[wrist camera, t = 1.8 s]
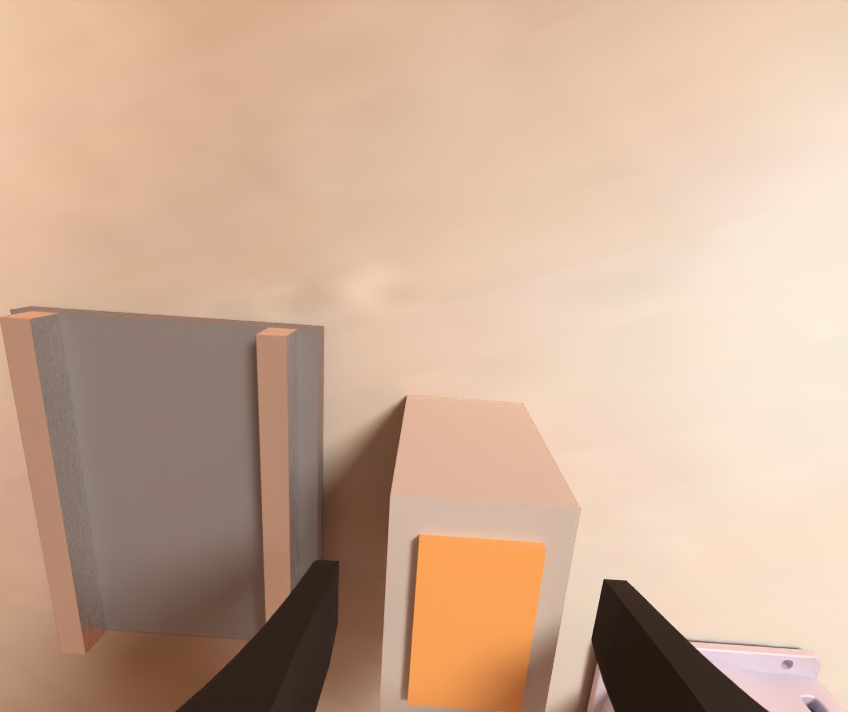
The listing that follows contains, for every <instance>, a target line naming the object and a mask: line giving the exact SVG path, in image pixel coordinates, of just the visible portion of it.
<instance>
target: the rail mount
mask: <svg viewBox="0 0 848 712" xmlns="http://www.w3.org/2000/svg"><path fill="white" fill-rule="evenodd" d="M10 311H11V315H7V316H2V317H0V323H1V329H2V334H3V340H4V345H5V350H6V356H7V361H8V367H9V372H10V377H11V383H12V388H13V394H14V399H15V405H16V410H17V415H18V421H19V426H20V432H21V437H22V442H23V448H24V453H25V459H26V464H27V470H28V475H29V480H30V486H31V491H32V497H33V502H34V508H35V513H36V518H37V524H38V529H39V535H40V540H41V545H42V551H43V556H44V562H45V567H46V573H47V578H48V583H49V589H50V594H51V600H52V605H53V610H54V616H55V621H56V627H57V632H58V638H59V643H60V648H61V653H68V654H82V655H86V654H87V652H88V651H89V650H90V649H91V648H92V646H93V645H94V644H95V643H96V642H97V640H98V639H99V638H100V637H101V636H102V634H103V633H104V632H105V631H106V630H116V631H130V632H144V633H159V634H173V635H187V636H201V637H215V638H229V639H244V640H251V639H252V638H253V637H254V636H255V635H256V633H257V632H258V631H259V630H260V629H261V628H262V627H263V626H264V625H265V623H266V622H267V621H268V620H269V619H270V618H271V616H272V615H273V614H274V613H275V612H276V610H277V609H278V608H279V607H280V605H281V604H282V603H283V602H284V601H285V599H286V598H287V597H288V596H289V594H290V593H291V592H292V590H293V589H294V588H295V587H296V585H297V584H298V583H299V581H300V580H301V578H302V577H303V576H304V574H305V573H306V571H307V570H308V569H309V567H310V566H311V564H312V563H313V562H314V561H316V560H322V521H323V369H324V326H311V325H296V324H282V323H267V322H252V321H237V320H223V319H208V318H193V317H179V316H164V315H149V314H134V313H120V312H105V311H90V310H75V309H61V308H46V307H31V306H30V307H24V308H18V309H12V310H10Z"/></svg>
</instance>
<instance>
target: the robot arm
mask: <svg viewBox="0 0 848 712" xmlns="http://www.w3.org/2000/svg"><path fill="white" fill-rule="evenodd" d="M338 573H339V561H326V560H316V561H314V562H313V563H312V564H311V566H310V567H309V569H308V570H307V571H306V573H305V574H304V576H303V577H302V578H301V580H300V581H299V583H298V584H297V585H296V587H295V588H294V589H293V590H292V592H291V593H290V594H289V596H288V597H287V598H286V599H285V601H284V602H283V603H282V604H281V605H280V607H279V608H278V609H277V610H276V612H275V613H274V614H273V615H272V616H271V618H270V619H269V620H268V621H267V622H266V623H265V625H264V626H263V627H262V628H261V629H260V630H259V631H258V632H257V633H256V635H255V636H254V637H253V638H252V639H251V640H250V641H249V642H248V643H247V644H246V646H245V647H244V648H243V649H242V650H241V651H240V652H239V653H238V654H237V655H236V656H235V657H234V658H233V659H232V660H231V661H230V662H229V663H228V664H227V665H226V666H225V667H224V668H223V669H222V670H221V671H220V672H219V673H218V674H217V675H216V676H215V677H214V678H213V679H212V680H211V681H209V682H208V683H207V684H206V685H205V686H204V687H203V688H202V689H201V690H200V691H198V692H197V693H196V694H195V695H194V696H193V697H192V698H190V699H189V700H188V701H187V702H186V703H185V704H184V705H183V706H181V707H180V708H179V709H178V710H177V711H176V712H315V711H316V708H317V704H318V701H319V698H320V694H321V691H322V688H323V684H324V681H325V678H326V674H327V671H328V667H329V664H330V659H331V654H332V649H333V644H334V639H335V634H336V629H337V623H338ZM591 640H592V644H593V648H594V651H595V655H596V659H597V665H596V670H595V675H594V679H593V684H592V689H591V694H590V698H589V703H588V708H587V712H846V710H845V709H844V708H843V707H842V706H841V705H840V704H839V702H838V701H837V700H836V699H835V698H834V697H833V695H832V694H831V693H830V692H829V691H828V690H827V689H826V687H825V686H824V685H823V684H822V683H821V682H820V681H819V679H818V678H817V674H818V672H819V669H820V666H821V662H820V659H819V658H818V657H817V656H816V655H815V654H814V653H813V652H812V651H809V650H801V649H787V648H773V647H759V646H744V645H730V644H716V643H702V642H689V641H688V640H687V639H686V638H685V637H684V636H683V635H681V634H680V633H679V632H678V631H677V630H676V629H675V628H674V627H673V626H672V625H671V624H670V623H669V622H668V621H667V620H666V619H665V618H664V617H663V616H662V615H661V614H660V613H659V612H658V611H657V610H656V609H655V608H654V607H653V606H652V605H651V604H650V603H649V602H648V601H647V600H646V599H645V598H644V597H643V596H642V595H641V594H640V593H639V592H638V591H637V590H636V589H635V588H634V587H633V586H631V585H630V584H629V583H628V582H627V581H624V580H609V579H604V580H603V585H602V590H601V595H600V600H599V605H598V610H597V615H596V619H595V624H594V629H593V634H592V639H591Z"/></svg>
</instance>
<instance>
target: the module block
mask: <svg viewBox="0 0 848 712" xmlns="http://www.w3.org/2000/svg"><path fill="white" fill-rule="evenodd" d="M580 510H581V508H580V506H579V504H578V503H577V501H576V499H575V497H574V495H573V493H572V492H571V490H570V488H569V486H568V484H567V482H566V481H565V479H564V477H563V475H562V473H561V471H560V470H559V468H558V466H557V464H556V462H555V461H554V459H553V457H552V455H551V453H550V451H549V450H548V448H547V446H546V444H545V442H544V440H543V439H542V437H541V435H540V433H539V431H538V429H537V428H536V426H535V424H534V422H533V420H532V418H531V417H530V415H529V413H528V411H527V409H526V408H525V406H524V404H523V403H516V402H502V401H487V400H472V399H457V398H443V397H428V396H413V395H407V399H406V405H405V411H404V417H403V423H402V429H401V435H400V441H399V446H398V452H397V458H396V464H395V470H394V476H393V482H392V488H391V494H390V510H389V530H388V550H387V570H386V589H385V609H384V629H383V649H382V668H381V688H380V708H379V712H545V708H546V702H547V697H548V691H549V685H550V680H551V674H552V668H553V663H554V657H555V651H556V646H557V640H558V634H559V629H560V623H561V617H562V612H563V606H564V601H565V595H566V589H567V584H568V578H569V572H570V567H571V561H572V555H573V550H574V544H575V538H576V533H577V527H578V521H579V516H580Z"/></svg>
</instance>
